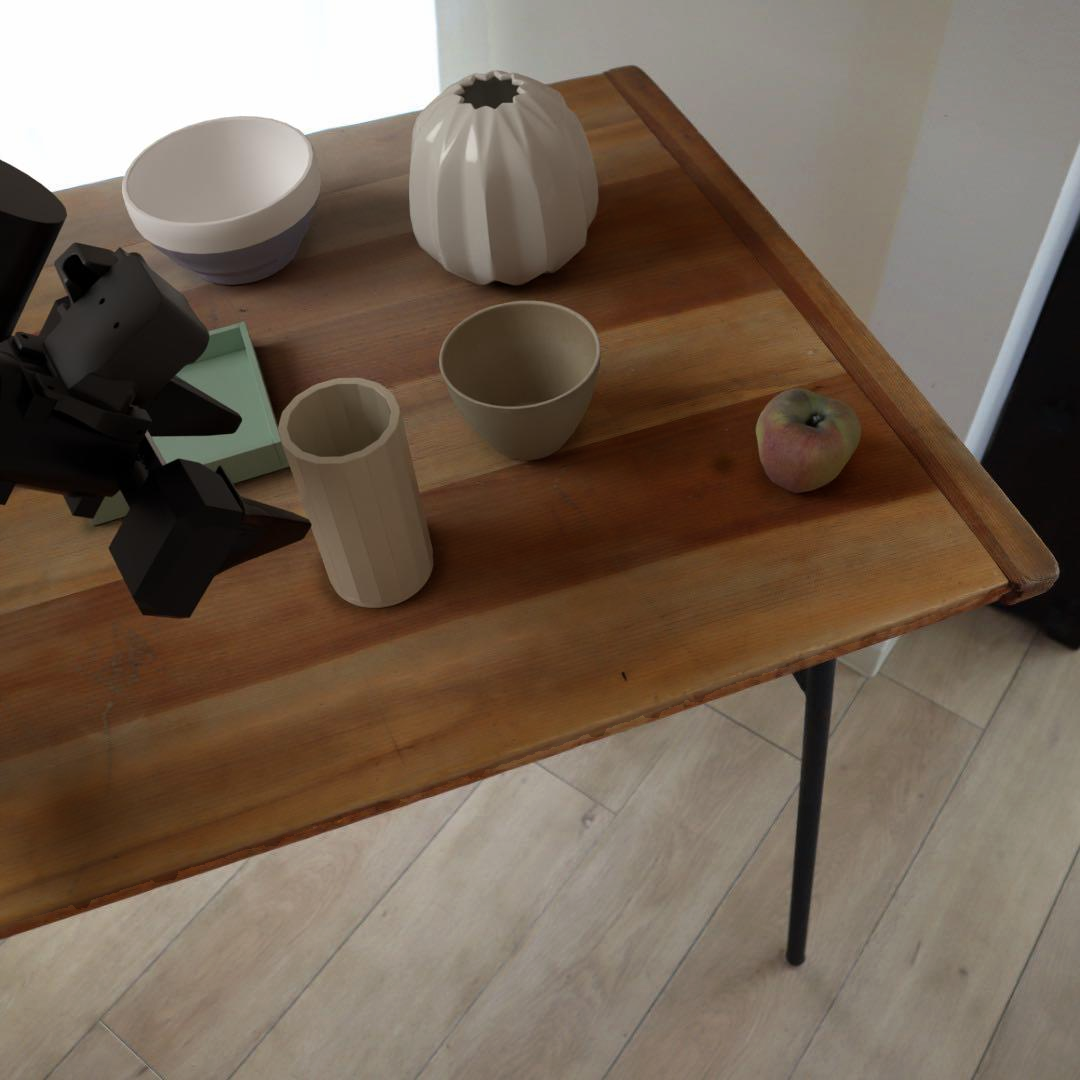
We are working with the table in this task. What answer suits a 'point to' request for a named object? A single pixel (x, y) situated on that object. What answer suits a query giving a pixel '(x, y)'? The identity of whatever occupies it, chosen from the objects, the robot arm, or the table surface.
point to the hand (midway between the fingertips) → (271, 474)
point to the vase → (501, 179)
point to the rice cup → (359, 489)
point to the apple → (806, 439)
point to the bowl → (226, 196)
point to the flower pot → (522, 375)
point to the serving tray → (240, 387)
